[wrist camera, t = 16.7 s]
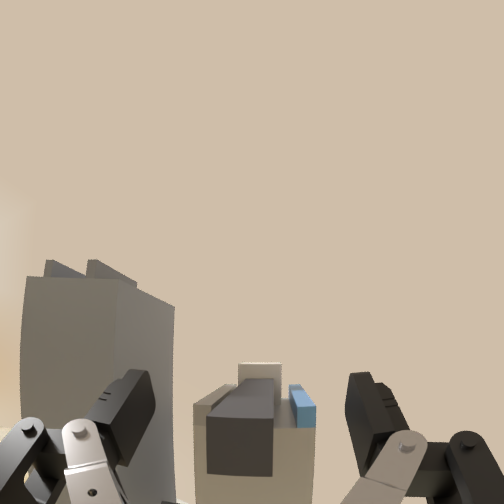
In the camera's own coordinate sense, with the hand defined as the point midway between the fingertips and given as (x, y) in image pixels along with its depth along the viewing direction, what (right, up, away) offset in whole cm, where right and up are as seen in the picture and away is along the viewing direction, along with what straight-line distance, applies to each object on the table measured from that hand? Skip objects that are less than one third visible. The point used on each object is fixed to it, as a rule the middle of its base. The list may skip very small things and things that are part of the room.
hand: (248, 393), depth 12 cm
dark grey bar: (0, -7, +9) cm, 11 cm away
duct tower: (-14, -29, +8) cm, 33 cm away
